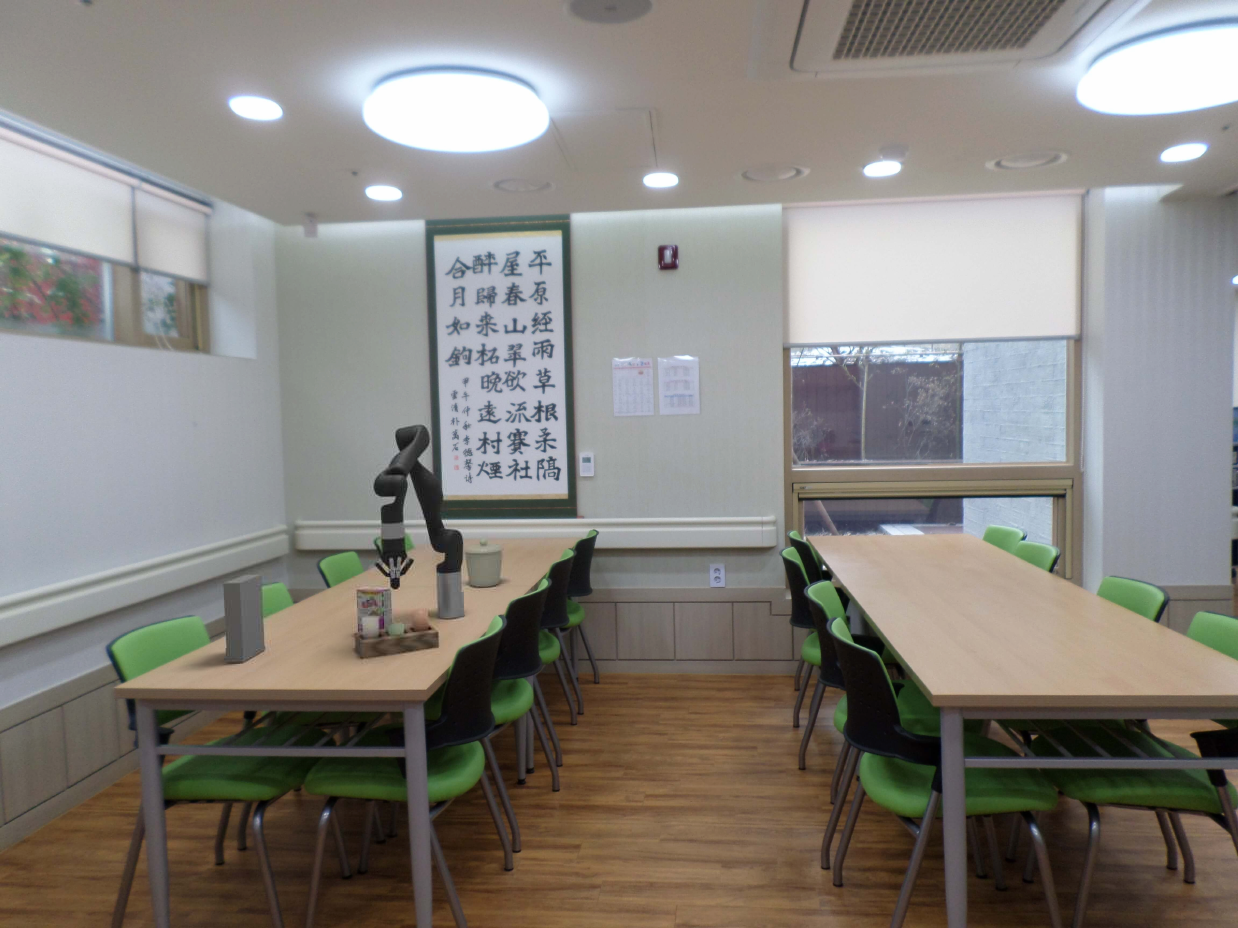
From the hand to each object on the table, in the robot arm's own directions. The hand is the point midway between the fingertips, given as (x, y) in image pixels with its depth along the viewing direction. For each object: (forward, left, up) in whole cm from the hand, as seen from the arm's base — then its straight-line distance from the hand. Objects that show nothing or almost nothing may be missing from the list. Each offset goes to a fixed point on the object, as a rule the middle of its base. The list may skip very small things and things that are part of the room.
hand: (395, 588), depth 253 cm
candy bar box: (+3, -19, -19) cm, 28 cm away
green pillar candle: (0, +1, -19) cm, 19 cm away
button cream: (+8, +1, -15) cm, 17 cm away
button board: (0, +1, -19) cm, 19 cm away
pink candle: (-8, +1, -15) cm, 17 cm away
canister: (-57, -80, -19) cm, 100 cm away
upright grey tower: (+44, -15, -19) cm, 51 cm away
